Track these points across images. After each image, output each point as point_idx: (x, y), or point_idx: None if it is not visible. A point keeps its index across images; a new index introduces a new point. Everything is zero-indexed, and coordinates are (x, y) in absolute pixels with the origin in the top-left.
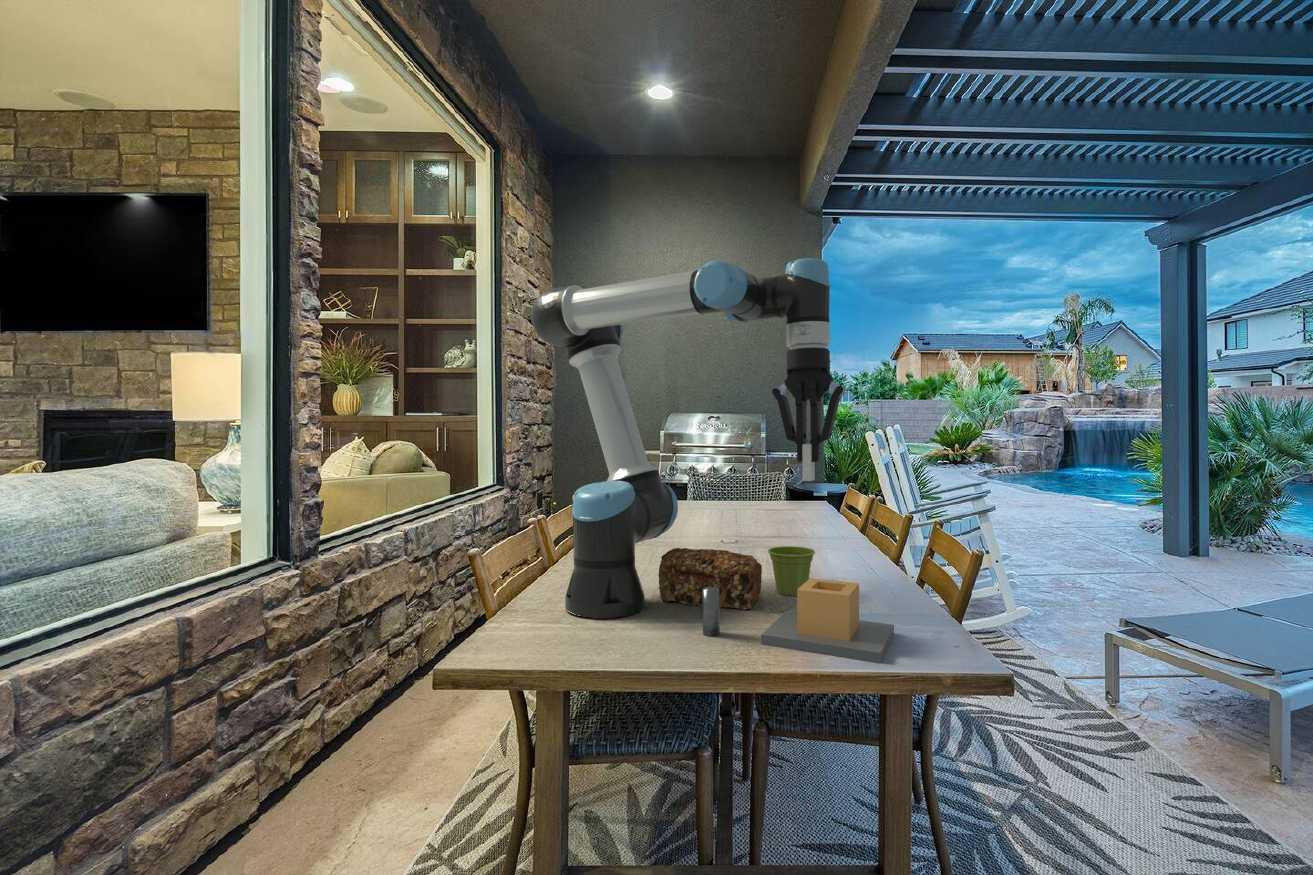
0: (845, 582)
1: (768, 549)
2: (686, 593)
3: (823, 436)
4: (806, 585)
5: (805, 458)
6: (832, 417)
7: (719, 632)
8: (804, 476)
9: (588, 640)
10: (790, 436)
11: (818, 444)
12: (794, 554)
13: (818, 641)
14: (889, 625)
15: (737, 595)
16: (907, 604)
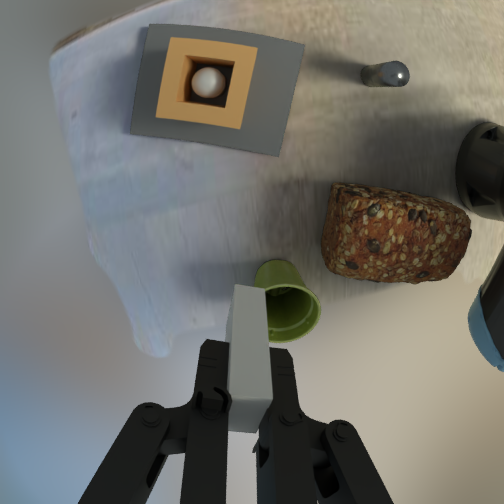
0: (177, 115)
1: (319, 316)
2: (420, 196)
3: (153, 419)
4: (243, 76)
5: (255, 345)
6: (80, 500)
7: (361, 74)
8: (258, 296)
9: (479, 55)
10: (338, 433)
11: (191, 399)
12: (277, 331)
13: (225, 35)
14: (135, 128)
15: (355, 187)
16: (127, 259)
